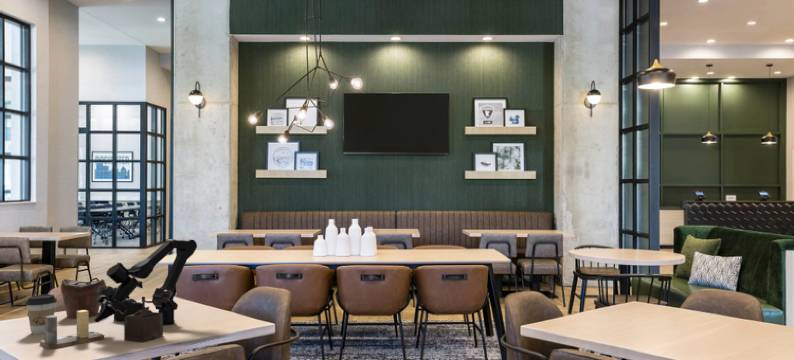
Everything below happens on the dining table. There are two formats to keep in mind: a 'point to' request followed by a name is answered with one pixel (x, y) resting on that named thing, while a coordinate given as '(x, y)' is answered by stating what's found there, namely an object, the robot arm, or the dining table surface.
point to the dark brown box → (145, 322)
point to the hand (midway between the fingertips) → (95, 321)
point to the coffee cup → (40, 311)
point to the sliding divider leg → (82, 323)
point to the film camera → (129, 309)
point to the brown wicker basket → (81, 296)
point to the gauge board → (54, 342)
